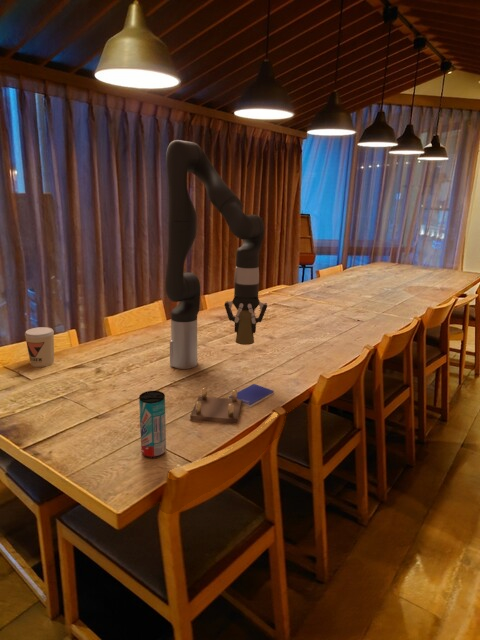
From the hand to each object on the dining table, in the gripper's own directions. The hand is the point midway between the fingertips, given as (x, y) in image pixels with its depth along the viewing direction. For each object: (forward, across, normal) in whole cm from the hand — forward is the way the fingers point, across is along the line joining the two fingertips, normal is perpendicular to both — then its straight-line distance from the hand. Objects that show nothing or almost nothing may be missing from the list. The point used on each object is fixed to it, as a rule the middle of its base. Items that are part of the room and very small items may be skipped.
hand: (245, 333), depth 144 cm
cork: (+3, 0, 0) cm, 3 cm away
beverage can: (+17, +18, +44) cm, 50 cm away
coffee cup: (+18, +73, -6) cm, 75 cm away
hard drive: (+18, -3, +10) cm, 21 cm away
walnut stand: (+17, +6, +21) cm, 28 cm away
